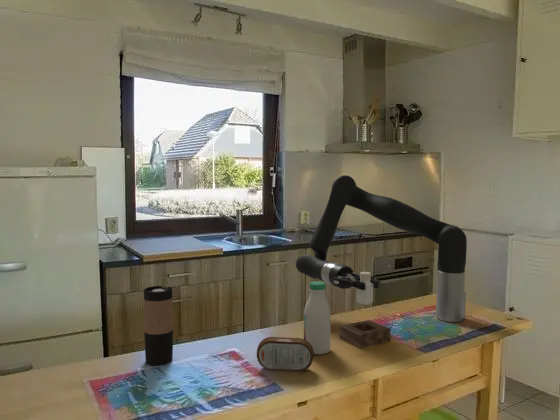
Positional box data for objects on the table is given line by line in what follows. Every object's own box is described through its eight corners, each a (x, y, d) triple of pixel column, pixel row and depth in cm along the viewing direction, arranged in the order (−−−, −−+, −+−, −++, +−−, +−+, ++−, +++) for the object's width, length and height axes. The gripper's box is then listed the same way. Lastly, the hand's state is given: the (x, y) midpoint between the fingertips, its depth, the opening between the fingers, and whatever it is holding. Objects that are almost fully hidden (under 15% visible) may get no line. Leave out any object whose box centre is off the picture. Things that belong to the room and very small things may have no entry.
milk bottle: (335, 350, 137) (336, 282, 135) (319, 357, 131) (319, 287, 130) (314, 343, 142) (315, 278, 140) (298, 350, 136) (298, 282, 135)
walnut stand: (368, 332, 153) (369, 319, 152) (390, 341, 144) (390, 328, 144) (339, 338, 147) (339, 325, 146) (360, 348, 138) (360, 335, 138)
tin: (313, 368, 124) (314, 337, 123) (313, 373, 121) (313, 341, 120) (257, 366, 125) (257, 335, 125) (255, 371, 122) (255, 339, 121)
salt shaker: (355, 303, 145) (356, 272, 144) (362, 300, 148) (363, 270, 147) (366, 305, 142) (367, 274, 141) (373, 303, 145) (374, 272, 144)
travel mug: (148, 368, 123) (146, 293, 122) (142, 358, 130) (140, 287, 128) (176, 363, 127) (175, 290, 125) (169, 353, 133) (168, 284, 132)
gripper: (319, 265, 153) (352, 276, 138) (354, 262, 160) (389, 271, 145) (319, 288, 153) (352, 301, 139) (353, 283, 161) (388, 295, 146)
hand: (371, 285), depth 142 cm, fingers closed on salt shaker, 4 cm apart
